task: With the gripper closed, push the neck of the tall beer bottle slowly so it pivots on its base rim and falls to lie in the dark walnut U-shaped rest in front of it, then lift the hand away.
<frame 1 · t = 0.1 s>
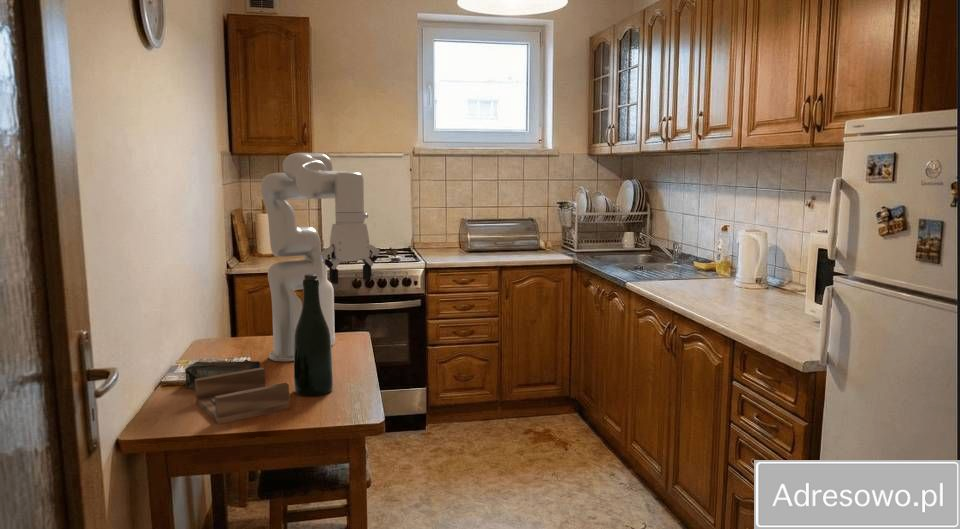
hand: (350, 281, 186), 31 cm above the table, tool pointing down, fingers open, 9 cm apart
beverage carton: (224, 385, 197), on the table
cradle: (242, 405, 179), on the table
bottle: (323, 344, 241), on the table
beer bottle: (313, 391, 192), on the table
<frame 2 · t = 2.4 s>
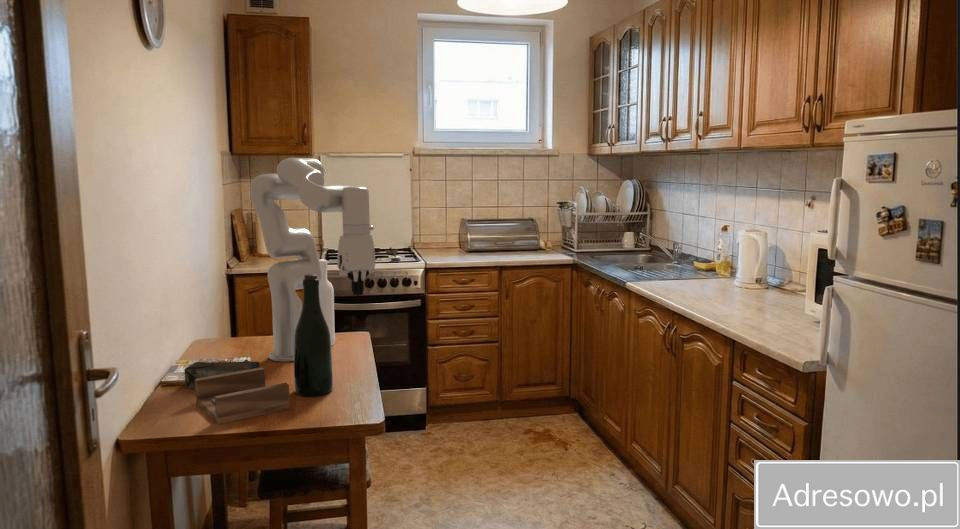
hand: (357, 294, 196), 26 cm above the table, tool pointing down, fingers closed
nothing on the table moved.
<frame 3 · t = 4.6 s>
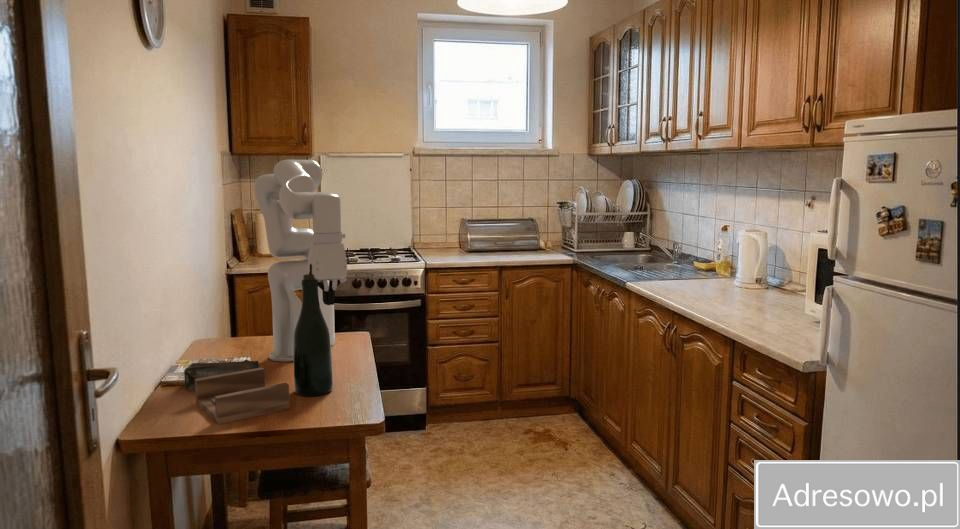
hand: (328, 304, 191), 24 cm above the table, tool pointing down, fingers closed
beer bottle: (313, 391, 192), on the table, touching gripper
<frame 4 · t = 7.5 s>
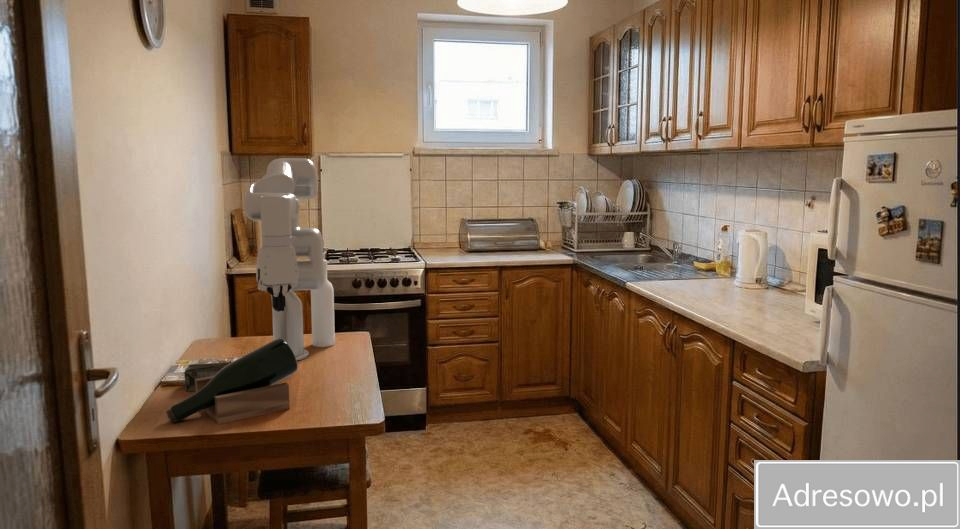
hand: (279, 310, 183), 24 cm above the table, tool pointing down, fingers closed
beer bottle: (289, 353, 185), point 12 cm above the table
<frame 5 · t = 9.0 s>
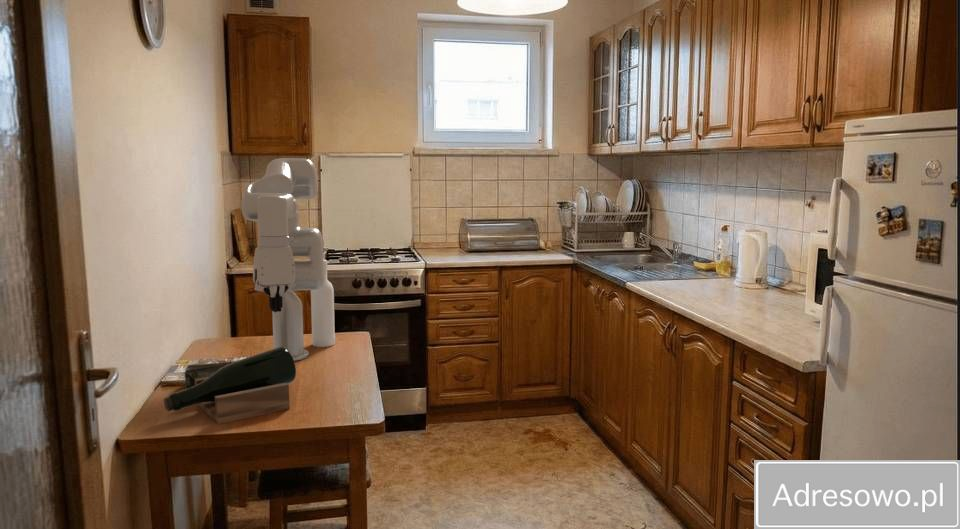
hand: (276, 310, 182), 24 cm above the table, tool pointing down, fingers closed
beer bottle: (288, 363, 189), point 8 cm above the table, touching cradle
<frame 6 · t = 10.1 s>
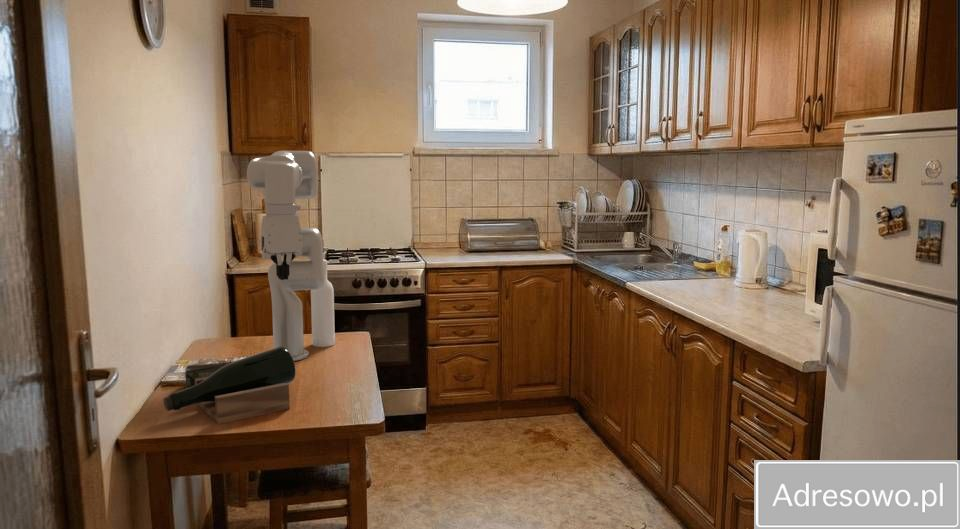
hand: (283, 278, 183), 32 cm above the table, tool pointing down, fingers closed
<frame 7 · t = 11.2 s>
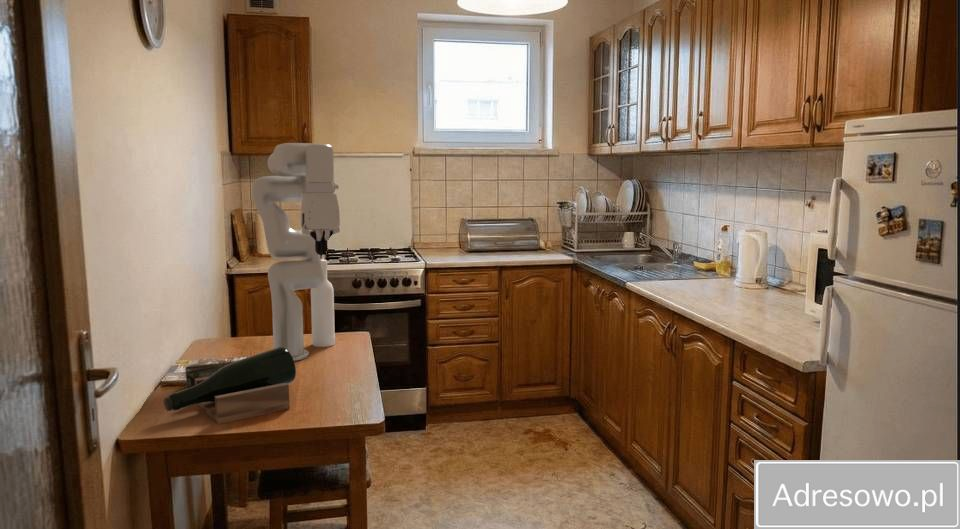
hand: (321, 254, 193), 38 cm above the table, tool pointing down, fingers closed
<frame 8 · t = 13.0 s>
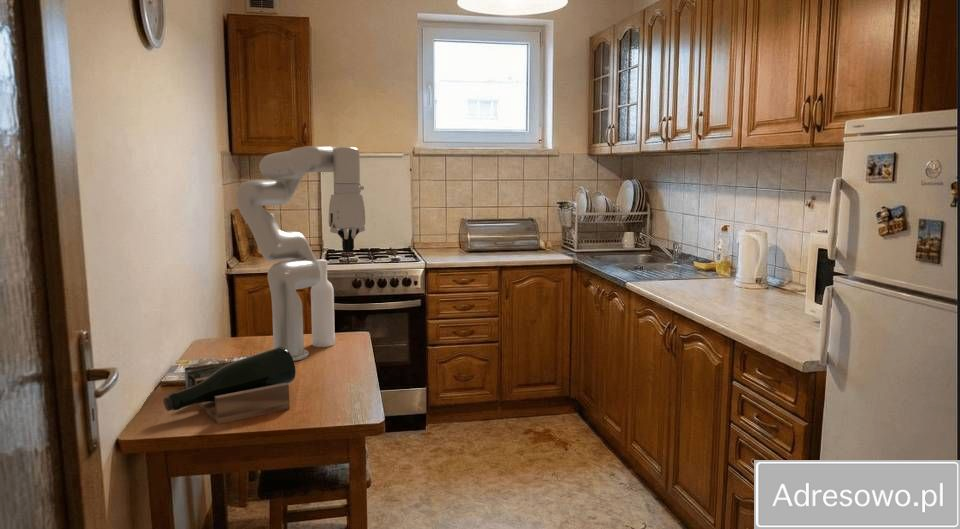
hand: (348, 251, 203), 37 cm above the table, tool pointing down, fingers closed
at the end: beer bottle tilted 96°; beer bottle touching cradle; beer bottle inside the target area (9.7 cm from its centre), point 8.1 cm above the table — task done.
